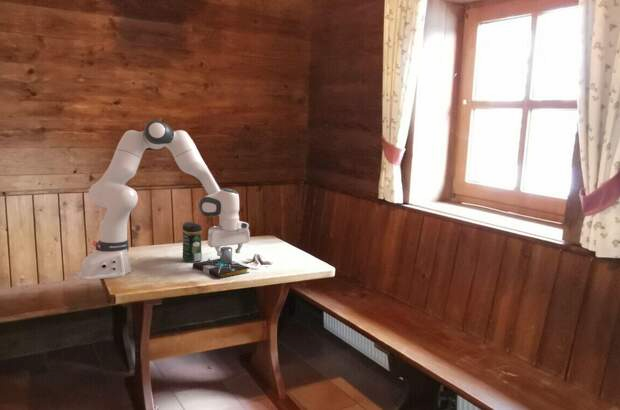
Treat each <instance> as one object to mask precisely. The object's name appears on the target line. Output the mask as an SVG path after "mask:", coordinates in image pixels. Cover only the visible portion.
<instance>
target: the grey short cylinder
mask: <svg viewBox="0 0 620 410" xmlns="http://www.w3.org/2000/svg"><path fill="white" fill-rule="evenodd" d="M219 250H220V251H221V252H222V256H219V258H220V262H221V261H222V263H223V264H229V263H232V261H233V247H230V246H220V249H219Z"/></svg>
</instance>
